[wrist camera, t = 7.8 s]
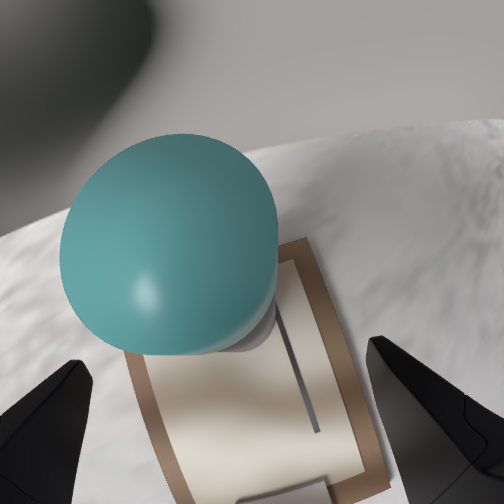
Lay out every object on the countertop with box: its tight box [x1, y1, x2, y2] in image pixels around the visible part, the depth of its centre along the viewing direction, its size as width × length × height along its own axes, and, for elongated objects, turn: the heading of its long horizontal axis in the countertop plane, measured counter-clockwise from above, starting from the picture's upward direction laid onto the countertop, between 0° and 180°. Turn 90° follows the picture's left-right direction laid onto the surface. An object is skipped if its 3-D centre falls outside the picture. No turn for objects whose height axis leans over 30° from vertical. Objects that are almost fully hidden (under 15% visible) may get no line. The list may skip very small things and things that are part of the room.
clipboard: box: [124, 237, 391, 504], centre depth 15 cm, size 16×12×1 cm
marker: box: [60, 134, 278, 356], centre depth 11 cm, size 4×4×12 cm
